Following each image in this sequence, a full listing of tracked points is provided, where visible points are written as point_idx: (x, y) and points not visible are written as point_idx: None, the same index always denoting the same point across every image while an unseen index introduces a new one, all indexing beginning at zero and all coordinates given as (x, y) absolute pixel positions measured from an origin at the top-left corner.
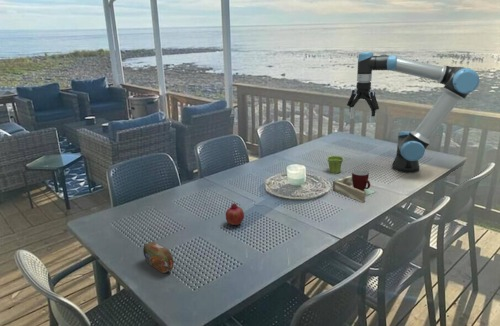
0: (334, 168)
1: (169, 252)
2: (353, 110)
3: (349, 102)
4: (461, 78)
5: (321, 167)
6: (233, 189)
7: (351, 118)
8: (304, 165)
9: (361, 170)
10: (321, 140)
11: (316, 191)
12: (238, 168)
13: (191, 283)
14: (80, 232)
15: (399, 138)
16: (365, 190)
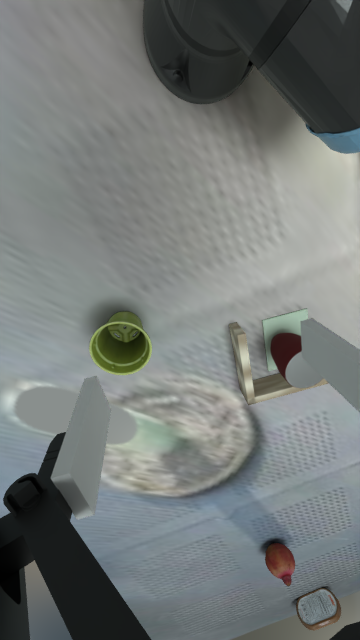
0: (140, 344)
1: (337, 614)
2: (87, 451)
3: (21, 615)
4: None
5: (65, 342)
6: (144, 538)
7: (108, 407)
8: (28, 380)
9: (294, 355)
10: None
11: (229, 421)
12: None
13: (352, 573)
14: None
15: None
16: (287, 327)
